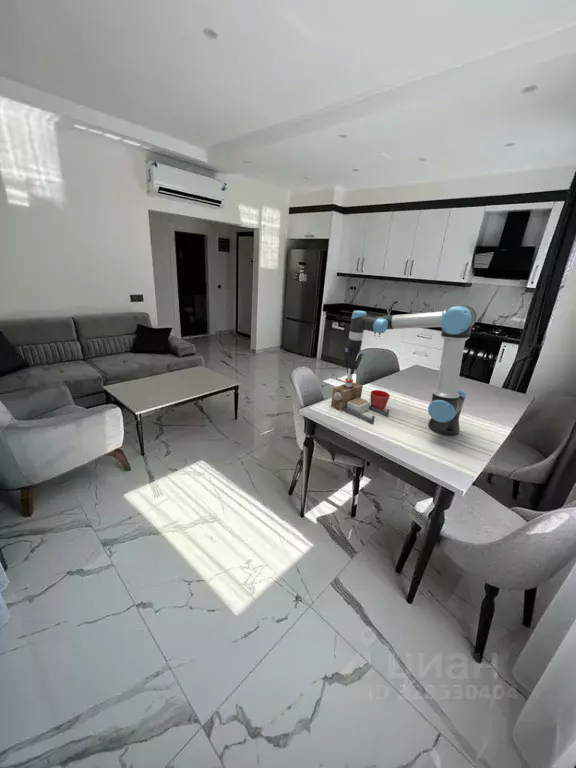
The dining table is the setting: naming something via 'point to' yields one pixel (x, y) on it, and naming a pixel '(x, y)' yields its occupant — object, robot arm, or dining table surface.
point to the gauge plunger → (348, 383)
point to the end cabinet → (345, 395)
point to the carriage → (358, 405)
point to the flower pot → (379, 399)
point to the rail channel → (365, 418)
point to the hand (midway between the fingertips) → (349, 378)
